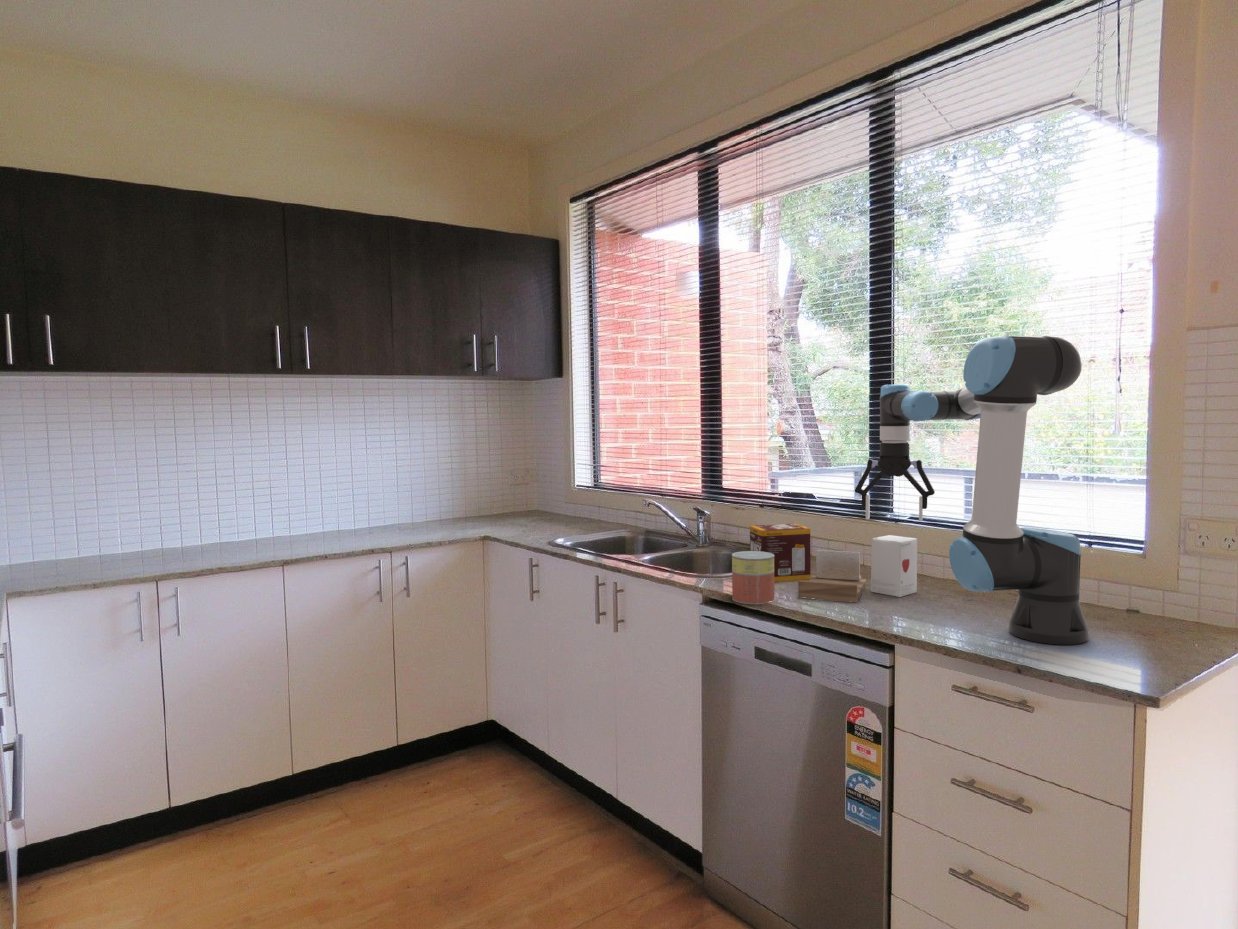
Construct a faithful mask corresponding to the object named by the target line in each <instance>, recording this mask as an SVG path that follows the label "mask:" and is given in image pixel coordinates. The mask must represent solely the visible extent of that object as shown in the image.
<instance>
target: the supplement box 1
mask: <svg viewBox="0 0 1238 929" xmlns="http://www.w3.org/2000/svg"><path fill="white" fill-rule="evenodd" d="M749 551H763V552H769V553H772V554H774V555H775V556H774V583H779V582H780V583H781V582H782V581H783V582H791V581H792V582H795V581H796V582H797V581H799V580H804V581H809V580H810V579H811V577H812V576H811V574H812V573H811V567H812V566H811V559H812V558H811V528H810V527H807V526H804V525H801V524H798V523H795V522H793V523H780V524H779V523H778V524H760V525H758V524H755V525H749Z"/></svg>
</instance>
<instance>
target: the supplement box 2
mask: <svg viewBox="0 0 1238 929" xmlns="http://www.w3.org/2000/svg"><path fill="white" fill-rule="evenodd" d="M870 553H871V554H870V555H871V556H870V558H871V560H870V561H871V562H870V564H871V565H870V566H871V567H870V570H871V571H870V592H871V593H877V594H882V595H886V596H891V597H897V598H902V597H906V596H909V595H912V594H915V593H917V589H918V588H917V587H918V586H917V584H918V583H917V582H918V574H917V573H918V538H916V537H908V536H900V535H893V534H891V535H890V534H888V535H883V536H877V537H873V538H871V552H870Z"/></svg>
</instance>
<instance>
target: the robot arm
mask: <svg viewBox="0 0 1238 929" xmlns="http://www.w3.org/2000/svg"><path fill="white" fill-rule="evenodd" d="M1082 359H1083V358H1082V355H1081V353H1080V352H1079V350H1078V348H1077V347H1076V345H1074V344H1073V343H1072V342H1071V341H1069V340H1068V339H1065V338H1064V337H1060V336H1056V335H1007V334H1004V335H999V336H989V337H985V338H983V339H981V340H978V341H977V342H976V343H975V344H974V345H973V347H972V348H971V349H970V350H969V352H968V354H967V356H966V358H965V361H964V366H963V370H962V371H963V372H962V373H963V374H962V376H963V382H965V383H964V384H965V385H964V387H962V388H960V389H954V390H922V389H921V390H911V388H910V385H909V384H906V383H905V384H896V383H895V384H884V385H881V387H880V396H879V424H880V425H879V441H881V442H880V443H879V458H878V460H875V459H872V458H870V459H868V460H867V462H866V469H865V470H864V472H863V475H862V476H861V477H860V480H859V481H858V483H857V485H856V487H855V488H854V492H855V493H856V494H859V495H861V496H860V497H861V507H862V508H865V520H870V516H871V514H870V512H871V508H870V507H871V506H870V505H871V501H870V500H871V494H868V493H869V492H870V490H872V488H873V487H874V486H875V485H876V484H877V483H878V482H879V481H880V480H881V478H883V476H887V477H899V478H900V477H905V478H906V479H907V481H908V482H910V484H911V485H912V486H913V487H914V488H915V489H916V491H917V492H918V493H919V494H920V495H921V496H920V495H919V496H918V498H919V499H918V502H919V503H918V522H921V523H922V522H923V516H924V515H923V510H926V509H927V508H928V498H929V497H930V496H933V495H935V489H934V488H933V485H932V484H931V481H930V480H929V478H928V475H927V474H926V472H925V470H924V468H923V462H922V459H917V460H911V459H910V443H909V442H908V441H910V431H911V429H910V428H911V426H910V422H911V421H913V422H925V421H944V420H947V421H948V420H964V421H965V420H966V421H971V420H978V419H979V427H978V428H979V430H978V439H977V440H978V441H977V449H976V450H977V452H976V464H975V473H974V474H975V477H974V487H973V488H974V489H973V500H972V509H971V510H972V511H971V512H972V513H971V519H970V520H969V521H968V522H966V523H965V524H964V525H963V527H962V536H958V537H957V538H955V539H953V541H952V542H951V543H950V545H949V549H948V558H949V565H950V569H951V571H952V573H953V575H954V577H955V579H956V580H957V582H958V583H959V584H960V585H961V587H963V588H964V589H966V590H967V591H970V592H984V593H991V592H1005V591H1018V592H1017V594H1018V596H1017V599H1016V602H1015V604H1014V608H1013V610H1012V613H1011V615H1010V618H1009V621H1008V632H1009V633H1010V634H1011V635H1013V636H1015V637H1017V638H1020V639H1023V640H1026V641H1029V642H1030V641H1031V642H1036V643H1040V644H1049V645H1063V646H1064V645H1080V644H1085V643H1086V642H1088V640H1089V627H1088V624H1087V622H1086V618H1085V616H1084V612H1083V610H1082V606H1081V603H1080V583H1081V580H1080V579H1081V558H1082V553H1081V541H1080V538H1078V536H1076V535H1075V534H1072V533H1069V532H1065V531H1064V532H1063V531H1058V530H1053V529H1052V530H1051V529H1044V528H1036V527H1027V526H1025V527H1019V526H1018V524H1017V523H1018V522H1017V519H1018V511H1019V508H1018V507H1019V498H1020V488H1021V479H1022V468H1023V458H1024V446H1025V438H1026V437H1025V436H1026V427H1027V415H1028V411H1029V410H1031V409H1032V408H1033V407H1034V406H1035V405H1037V402H1038V396H1049V395H1052V394H1054V393H1058V392H1061V391H1064V390H1065V389H1068V388H1070V387H1071V386H1072V385H1073V384H1075V382H1076V381H1077V380H1078V379H1079V377H1080V376H1081V373H1082V370H1083V360H1082ZM877 465H878V467H879V468H880V472H879V473H878V474H877V475H876V476H875V477H874V478H873V479H872V480H871V482H870V483H869V484H867V486H866V487H865V488H864V489H863V486H864V484H865V482H866V481H867V478H868V476H869V474H871V471H872V469H874V468H875V467H876V466H877ZM911 466H913V468H914V469H917V472H918V475H919V476H920V478H921V480H922V481H923V484H924V486H925V487H926V488H925V489H927V491H926V490H925V489H924V488H923V486H922V485H921V484H920V483H919V482H918V480H916V479H915V477H914V476H913V474H911V472H909V470H908V469H909V468H910V467H911Z"/></svg>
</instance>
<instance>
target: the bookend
mask: <svg viewBox="0 0 1238 929" xmlns="http://www.w3.org/2000/svg"><path fill="white" fill-rule="evenodd" d="M860 554H861V553H860V551H847V550H845V551H844V550H843V551H842V550H826V549H823V550H822V549H816V550H815V567H816V568H815V573H816V574H815V576H816V578H827V579H842V580H856V581H860V579H862V575H861V574H860V572H861V569H860V568H861V566H860V564H861V563H860V561H861V557H860V556H861V555H860Z"/></svg>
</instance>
